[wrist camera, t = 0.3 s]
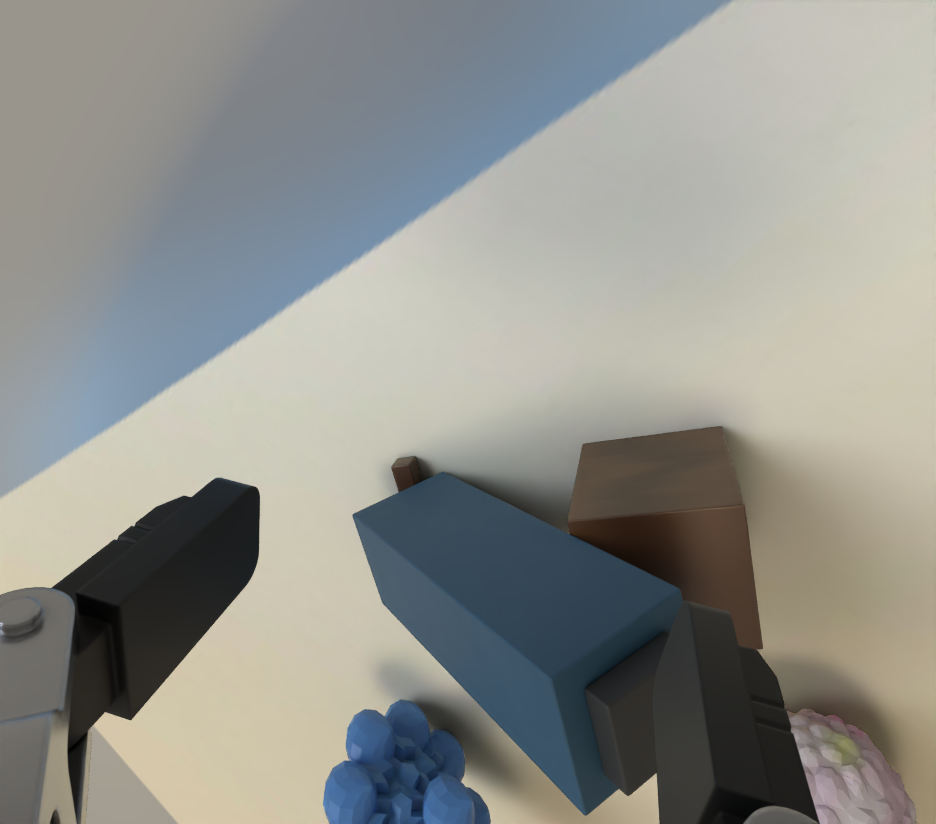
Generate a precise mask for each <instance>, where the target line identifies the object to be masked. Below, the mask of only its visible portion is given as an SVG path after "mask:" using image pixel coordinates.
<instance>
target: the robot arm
mask: <svg viewBox="0 0 936 824" xmlns="http://www.w3.org/2000/svg"><path fill="white" fill-rule="evenodd" d="M259 519H260V494H259V491H258V489H257V488H256V487H254V486H250V485H246V484H242V483H239V482H235V481H231V480H227V479H223V478H216V479H214V480H212V481H211V482H210V483H208V484H207V485H206V486H205V487H204V488H202V489H201V490H200V491H199V492H197V493H196V494H195V495H194V496H192V497H187V496H182V497H179V498H177V499H174V500H172V501H169V502H167V503H165V504H162V505H160V506H157V507H155V508H154V509H153V510H152V511H150V512H149V513H148V514H146V515H145V516H144V517H143V518H141V519H140V520H139V521H137V522H136V524H135V526H134V527H133V526H131V527H130V528H128V529H127V530H126V531H124V532H123V533H122V534H121V535H119V537H118V539H117V540H113V541H112V542H110V543H109V544H108V545H106V546H105V547H104V548H103V549H101V550H100V551H99V552H97V553H96V554H95V555H94V556H92V557H91V558H90V559H88V560H87V561H86V562H84V563H83V564H82V565H81V566H79V567H78V568H77V569H75V570H74V571H73V572H72V573H70V574H69V575H68V576H66V577H65V578H64V579H63V580H61V581H60V582H59V583H57V584H56V585H55V586H53V587H52V588H45V587H34V588H24V589H19V590H14V591H11V592H7V593H4V594H2V595H0V824H86V815H87V801H88V786H89V773H90V759H91V745H92V732H91V727H92V726H93V725H94V723H95V722H96V721H97V720H98V719H99V718H100V717H101V716H102V715H103V714H104V712H107V713H110V714H113V715H116V716H119V717H122V718H125V719H128V720H132V718H133V717H134V716H135V715H136V714H137V713H138V711H139V710H140V709H141V708H142V707H143V706H144V704H145V703H146V702H147V701H148V700H149V699H150V697H151V696H152V695H153V694H154V693H155V692H156V690H157V689H158V688H159V687H160V686H161V685H162V683H163V682H164V681H165V680H166V679H167V678H168V676H169V675H170V674H171V673H172V672H173V671H174V669H175V668H176V667H177V666H178V665H179V664H180V662H181V661H182V660H183V659H184V658H185V656H186V655H187V654H188V653H189V652H190V651H191V649H192V648H193V647H194V646H195V645H196V644H197V642H198V641H199V640H200V639H201V638H202V637H203V635H204V634H205V633H206V632H207V631H208V630H209V628H210V627H211V626H212V625H213V624H214V623H215V621H216V620H217V619H218V618H219V617H220V616H221V614H222V613H223V612H224V611H225V610H226V609H227V607H228V606H229V605H230V604H231V603H232V601H233V600H234V599H235V598H236V597H237V596H238V594H239V593H240V592H241V591H242V590H243V589H244V587H245V586H246V585H247V584H248V582H249V581H250V579H251V577H252V575H253V573H254V570H255V568H256V565H257V561H258V556H259ZM784 705H785V703H784V700H783V696H782V693H781V690H780V686H779V683H778V679H777V677H776V675H775V674H774V673H773V671H772V670H771V668H770V667H769V666H768V664H767V663H766V662H765V660H764V659H763V658H762V656H761V655H760V653H759V652H758V651H757V650H754V649H751V648H747V647H743V646H739V645H738V641H737V637H736V632H735V628H734V624H733V620H732V616H731V614H730V613H729V612H728V611H725V610H721V609H717V608H713V607H709V606H705V605H702V604H698V603H694V602H690V601H686V600H685V601H683V602H682V604H681V605H680V607H679V610H678V613H677V615H676V618H675V621H674V623H673V626H672V629H671V632H670V634H669V637H668V640H667V642H666V645H665V648H664V651H663V653H662V656H661V659H660V661H659V664H658V668H657V671H656V676H655V681H654V689H653V714H654V732H655V750H656V767H657V785H658V802H659V820H660V824H820V822H819V819H818V816H817V812H816V809H815V806H814V802H813V799H812V795H811V792H810V789H809V785H808V782H807V778H806V775H805V771H804V768H803V765H802V761H801V758H800V754H799V751H798V748H797V744H796V741H795V737H794V734H793V733H791V724H790V720H789V717H788V713H787V710H785V709H784Z"/></svg>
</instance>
